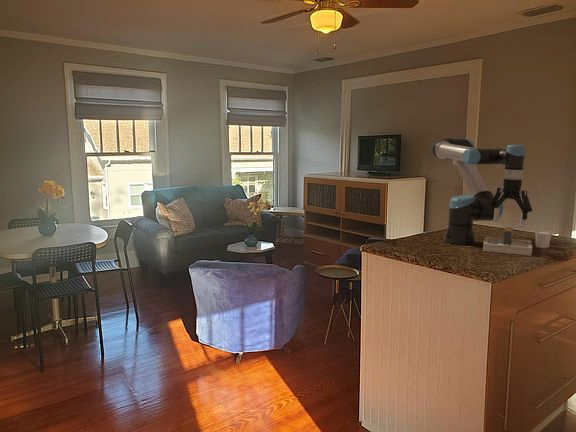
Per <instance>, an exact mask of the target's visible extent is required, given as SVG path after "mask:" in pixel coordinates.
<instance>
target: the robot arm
mask: <svg viewBox="0 0 576 432" xmlns="http://www.w3.org/2000/svg"><path fill="white" fill-rule="evenodd" d="M430 150H431V154H432V155H433V157H435V158H437V159H440V160H451V162H452V164H453V166H456V167H457V169H458V171H459V173H460V176H461V178H462V181H463V182H464V184H465V187H466V189H467V191H468V193H469V194H465V195H464V194H463V195H461V194H460V195H454V196H453V197H451V198H450V201H449V206H448V207H449V208H448V209H449V211H448V224H447V228H446V231H445V233H444V236H443V241H444V242H445V243H449V244H453V245H461V246H462V245H468V246H469V245H475V244H476V241H477V238H476V234H475V230H474V222H478V221H479V222H481V221H482V222H483V221H484V222H485V221H487V222H491V221H493V223H494V222H495V223H496V222H499V221H500V217H502V215H503V212H504V202H505V201H506V200H507V199H510V200H514V201H516V203H517V205H518V207H519V209H520V210H521V212H520V216H519V217H520V218H519V224H518V226H519V227H520V228H523V227H525V226H526V220H528V213H529V212H533V207H532V206H531V203H530V199H529V196H528V190H525V189H524V190H522V189H521V188H522V186H523V185H522V183H523V176H524V175H523V174H524V164H525V156H526V147H525V145H522V144H509V145H508V144H507V146H506V148H497V147H496V148H476V147H475V143H474V142H473V141H472V140H471V139H470V138H464V137H460V138H457V137H456V138H453V137H451V138H450V137H449V138H448V137H443V138H442V137H441V138H439V139H436V140H435V141H434V142H433V144H432V145H431V149H430ZM476 165H477V166H478V165H502V166H504V176H503V177H504V179H503V187H497V189H496V192H495V195H494V194H493V191H491V190H488V189H487V185H486V183H484V180H483V178H482V175H481V174H480V172H479V169H478V168H477V166H476Z"/></svg>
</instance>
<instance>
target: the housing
mask: <svg viewBox="0 0 576 432" xmlns="http://www.w3.org/2000/svg"><path fill="white" fill-rule="evenodd" d="M496 240H504V237H494V236H485V237H484V241H483V245H482V251H483V252H489V253H501V254H508V255H509V254H510V255H518V256H527V257H528V256H529V257H532V253H533V243H532V240H530V239H529V240H528V239H520V238H519V239H517V238H512V241H515V242H519V243H521V244H522V246H511V245H509V244H506V245H500V244H494V241H496Z"/></svg>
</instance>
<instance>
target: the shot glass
mask: <svg viewBox="0 0 576 432" xmlns="http://www.w3.org/2000/svg"><path fill="white" fill-rule="evenodd" d="M551 238H552V233H551V232H547V231H535V239H534V240H535V247H536V248H540V249H549V248H550V243H551Z"/></svg>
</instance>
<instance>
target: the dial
mask: <svg viewBox="0 0 576 432" xmlns="http://www.w3.org/2000/svg"><path fill="white" fill-rule="evenodd" d="M513 228H514V227H507V226H506V227H504V234H503V236H504V237H503V238H504V240H496V241H494V244H500V245H506V244H509V245H511V246H522V244H521V243H519V242H515V241H512V239H513V230H514V229H513Z"/></svg>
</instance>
